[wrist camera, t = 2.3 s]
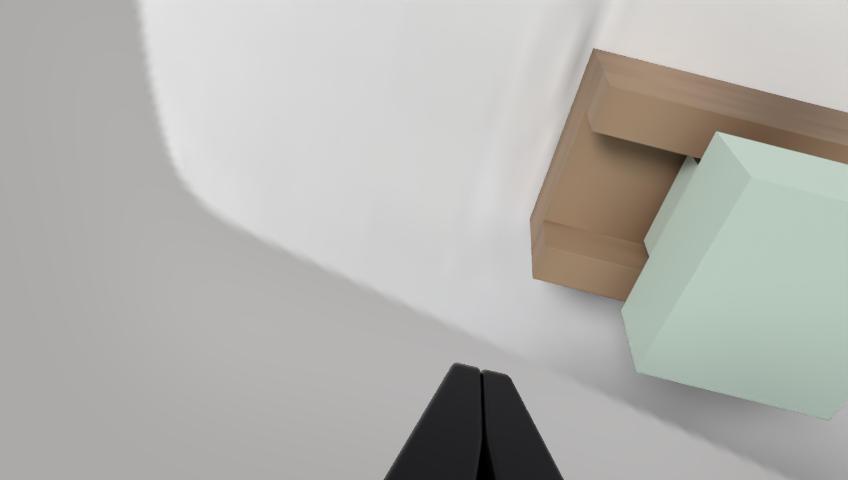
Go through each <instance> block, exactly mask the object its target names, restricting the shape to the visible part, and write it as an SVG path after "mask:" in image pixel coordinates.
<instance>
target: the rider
mask: <svg viewBox="0 0 848 480" xmlns="http://www.w3.org/2000/svg"><path fill="white" fill-rule="evenodd" d="M644 243H645V246H646V249H647V252H648V254H649V259H648V261H647V262H646V264H645V266H644V268H643V270H642V272H641V274H640V276H639V277H638V279H637V281H636V283H635V285H634V287H633V289H632V291H631V293H630V294H629V296H628V298H627V300H626V302H625V304H624V306H623V308H622V309H621V314H622V318H623V322H624V326H625V330H626V334H627V338H628V342H629V347H630V351H631V355H632V359H633V363H634V367H635V371H636V372H638V373H642V374H646V375H650V376H654V377H658V378H662V379H666V380H670V381H674V382H678V383H682V384H686V385H690V386H694V387H698V388H702V389H706V390H710V391H714V392H718V393H722V394H726V395H730V396H734V397H738V398H742V399H746V400H750V401H754V402H758V403H762V404H766V405H770V406H774V407H777V408H781V409H785V410H789V411H793V412H797V413H801V414H805V415H809V416H813V417H817V418H821V419H825V420H830V419H831V418H832V416H833V415H834V414H835V413H836V412H837V411H838V410H839V409H840V408H841V407H842V406H843V405H844V404H845V402H846V401H847V400H848V165H847V164H843V163H839V162H835V161H832V160H828V159H824V158H820V157H816V156H812V155H808V154H804V153H800V152H796V151H792V150H788V149H784V148H780V147H776V146H772V145H768V144H765V143H761V142H757V141H753V140H749V139H745V138H741V137H737V136H733V135H729V134H725V133H721V132H717V131H716V132H715V134H714V136H713V138H712V140H711V142H710V144H709V146H708V148H707V149H706V151H705V153H704V155H703V157H702V159H700V158H696V157H692V156H688V155H687V157H686V159H685V161H684V163H683V165H682V167H681V169H680V171H679V173H678V175H677V177H676V179H675V181H674V182H673V184H672V186H671V188H670V190H669V192H668V194H667V196H666V198H665V200H664V202H663V204H662V206H661V208H660V210H659V212H658V214H657V216H656V217H655V219H654V221H653V223H652V225H651V227H650V229H649V231H648V233H647V235H646V237H645V239H644Z"/></svg>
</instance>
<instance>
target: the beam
mask: <svg viewBox="0 0 848 480" xmlns="http://www.w3.org/2000/svg"><path fill="white" fill-rule="evenodd" d="M716 131H717V132H721V133H725V134H729V135H733V136H737V137H741V138H745V139H749V140H753V141H757V142H761V143H765V144H768V145H772V146H776V147H780V148H784V149H788V150H792V151H796V152H800V153H804V154H808V155H812V156H816V157H820V158H824V159H828V160H832V161H835V162H839V163H843V164H847V165H848V113H846V112H842V111H838V110H834V109H830V108H826V107H822V106H818V105H814V104H810V103H806V102H802V101H799V100H795V99H791V98H787V97H783V96H779V95H775V94H771V93H767V92H763V91H759V90H755V89H751V88H747V87H743V86H739V85H736V84H732V83H728V82H724V81H720V80H716V79H712V78H708V77H704V76H700V75H696V74H692V73H688V72H684V71H680V70H677V69H673V68H669V67H665V66H661V65H657V64H653V63H649V62H645V61H641V60H637V59H633V58H629V57H625V56H621V55H617V54H614V53H610V52H606V51H602V50H598V49H594V48H593V51H592V54H591V56H590V59H589V62H588V64H587V67H586V70H585V72H584V75H583V78H582V80H581V83H580V86H579V89H578V91H577V94H576V97H575V99H574V102H573V105H572V107H571V110H570V113H569V116H568V118H567V121H566V124H565V126H564V129H563V132H562V134H561V137H560V140H559V142H558V145H557V148H556V151H555V153H554V156H553V159H552V161H551V164H550V167H549V169H548V172H547V175H546V178H545V180H544V183H543V186H542V188H541V191H540V194H539V196H538V199H537V202H536V204H535V207H534V210H533V213H532V215H531V218H530V228H531V250H532V271H533V278H534V279H538V280H542V281H546V282H550V283H554V284H558V285H562V286H566V287H570V288H574V289H578V290H581V291H585V292H589V293H593V294H597V295H601V296H605V297H609V298H613V299H617V300H621V301H625V302H626V300H627V298H628V296H629V294H630V293H631V291H632V289H633V287H634V285H635V283H636V281H637V279H638V277H639V276H640V274H641V272H642V270H643V268H644V266H645V264H646V262H647V261H648V259H649V254H648V252H647V249H646V246H645V243H644V239H645V237H646V235H647V233H648V231H649V229H650V227H651V225H652V223H653V221H654V219H655V217H656V216H657V214H658V212H659V210H660V208H661V206H662V204H663V202H664V200H665V198H666V196H667V194H668V192H669V190H670V188H671V186H672V184H673V182H674V181H675V179H676V177H677V175H678V173H679V171H680V169H681V167H682V165H683V163H684V161H685V159H686V157H687V155H688V156H692V157H696V158H700V159H702V157H703V155H704V153H705V151H706V149H707V148H708V146H709V144H710V142H711V140H712V138H713V136H714V134H715V132H716Z"/></svg>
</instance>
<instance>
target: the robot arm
mask: <svg viewBox="0 0 848 480" xmlns="http://www.w3.org/2000/svg"><path fill="white" fill-rule="evenodd" d="M384 480H564V479H563V477H562V476H561V474H560V472H559V470H558V468H557V466H556V464H555V462H554V460H553V458H552V456H551V455H550V453H549V451H548V449H547V447H546V445H545V443H544V441H543V439H542V437H541V435H540V434H539V432H538V430H537V428H536V426H535V424H534V422H533V420H532V418H531V416H530V414H529V412H528V411H527V409H526V407H525V405H524V403H523V401H522V399H521V397H520V395H519V393H518V392H517V390H516V388H515V386H514V384H513V382H512V380H511V378H510V377H509V376H508V375H506V374H502V373H498V372H494V371H490V370H482V371H481V372H480V370H479V369H478V368H477V367H473V366H469V365H465V364H460V363H454V364H453V365H452V366H451V368H450V369H449V371H448V373H447V374H446V376H445V378H444V380H443V381H442V383H441V384H440V386H439V388H438V390H437V391H436V393H435V394H434V396H433V398H432V399H431V401H430V403H429V404H428V406H427V408H426V410H425V411H424V413H423V415H422V416H421V418H420V420H419V421H418V423H417V425H416V426H415V428H414V430H413V431H412V433H411V435H410V436H409V438H408V440H407V441H406V443H405V445H404V446H403V448H402V450H401V451H400V453H399V455H398V456H397V458H396V460H395V462H394V463H393V465H392V467H391V468H390V470H389V472H388V473H387V475H386V477H385V478H384Z"/></svg>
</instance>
